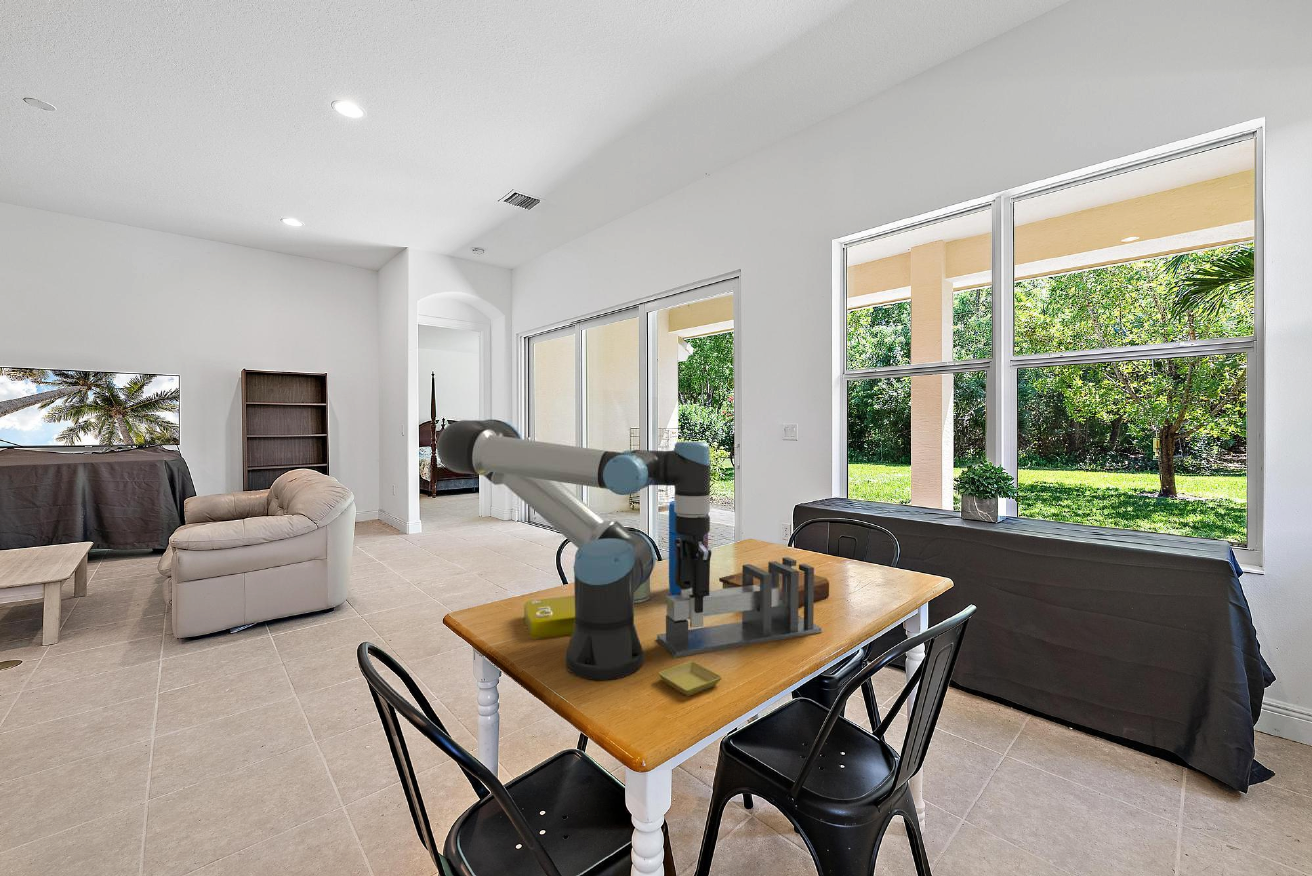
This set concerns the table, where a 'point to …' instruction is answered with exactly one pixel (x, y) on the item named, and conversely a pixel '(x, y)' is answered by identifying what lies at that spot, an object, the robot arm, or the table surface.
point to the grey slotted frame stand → (752, 615)
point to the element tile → (550, 617)
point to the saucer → (690, 678)
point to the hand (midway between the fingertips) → (691, 622)
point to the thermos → (673, 585)
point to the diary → (819, 585)
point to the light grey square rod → (721, 601)
